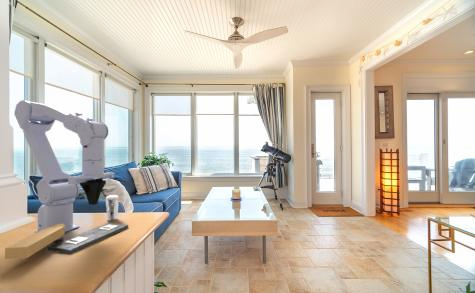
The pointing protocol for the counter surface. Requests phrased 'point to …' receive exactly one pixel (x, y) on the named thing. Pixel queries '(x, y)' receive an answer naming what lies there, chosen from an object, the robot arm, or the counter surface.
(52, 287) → the counter surface
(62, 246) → the panel
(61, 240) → the pivot plinth
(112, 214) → the milkshake
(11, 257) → the light wooden plank
